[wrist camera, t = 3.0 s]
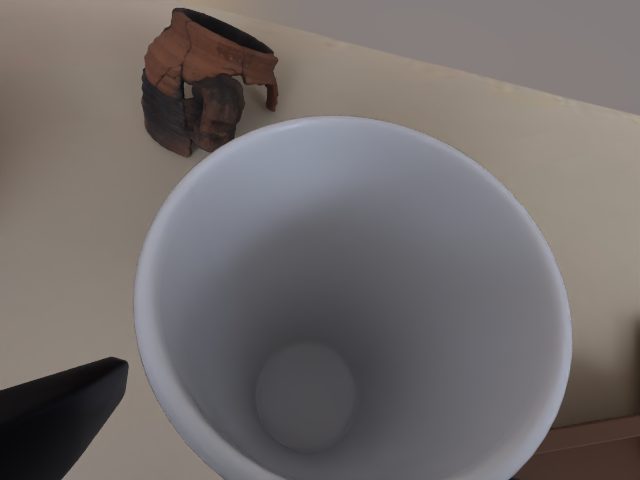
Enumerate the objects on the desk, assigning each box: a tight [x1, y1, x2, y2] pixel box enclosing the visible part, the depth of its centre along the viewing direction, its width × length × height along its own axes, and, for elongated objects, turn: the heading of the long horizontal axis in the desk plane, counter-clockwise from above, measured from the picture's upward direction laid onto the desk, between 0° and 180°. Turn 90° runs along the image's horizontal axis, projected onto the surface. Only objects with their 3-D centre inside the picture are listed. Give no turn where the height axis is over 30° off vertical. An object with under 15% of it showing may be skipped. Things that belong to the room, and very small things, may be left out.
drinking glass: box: [133, 115, 572, 480], centre depth 12 cm, size 7×7×15 cm
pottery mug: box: [141, 8, 278, 157], centre depth 26 cm, size 12×10×8 cm
